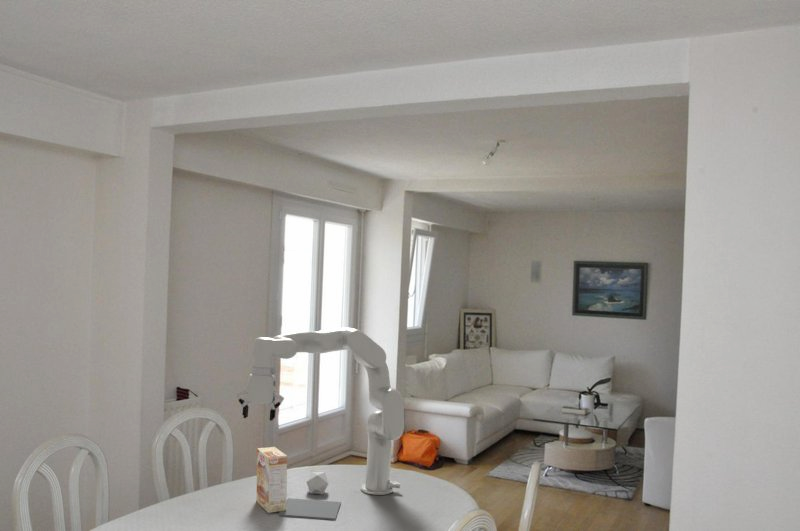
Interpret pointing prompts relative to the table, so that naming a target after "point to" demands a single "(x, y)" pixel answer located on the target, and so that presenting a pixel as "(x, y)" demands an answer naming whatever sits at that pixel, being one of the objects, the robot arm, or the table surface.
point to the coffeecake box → (271, 479)
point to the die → (317, 483)
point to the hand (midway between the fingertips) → (258, 418)
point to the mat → (311, 509)
